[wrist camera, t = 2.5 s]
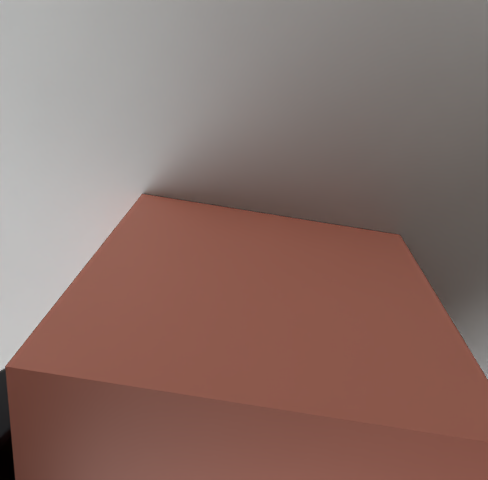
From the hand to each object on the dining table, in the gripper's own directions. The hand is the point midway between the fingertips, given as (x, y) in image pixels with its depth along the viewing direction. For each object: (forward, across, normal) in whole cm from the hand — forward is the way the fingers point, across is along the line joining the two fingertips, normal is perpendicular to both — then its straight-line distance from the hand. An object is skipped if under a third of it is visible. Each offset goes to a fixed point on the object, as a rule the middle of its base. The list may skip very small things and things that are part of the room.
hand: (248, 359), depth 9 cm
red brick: (+1, 0, 0) cm, 1 cm away
